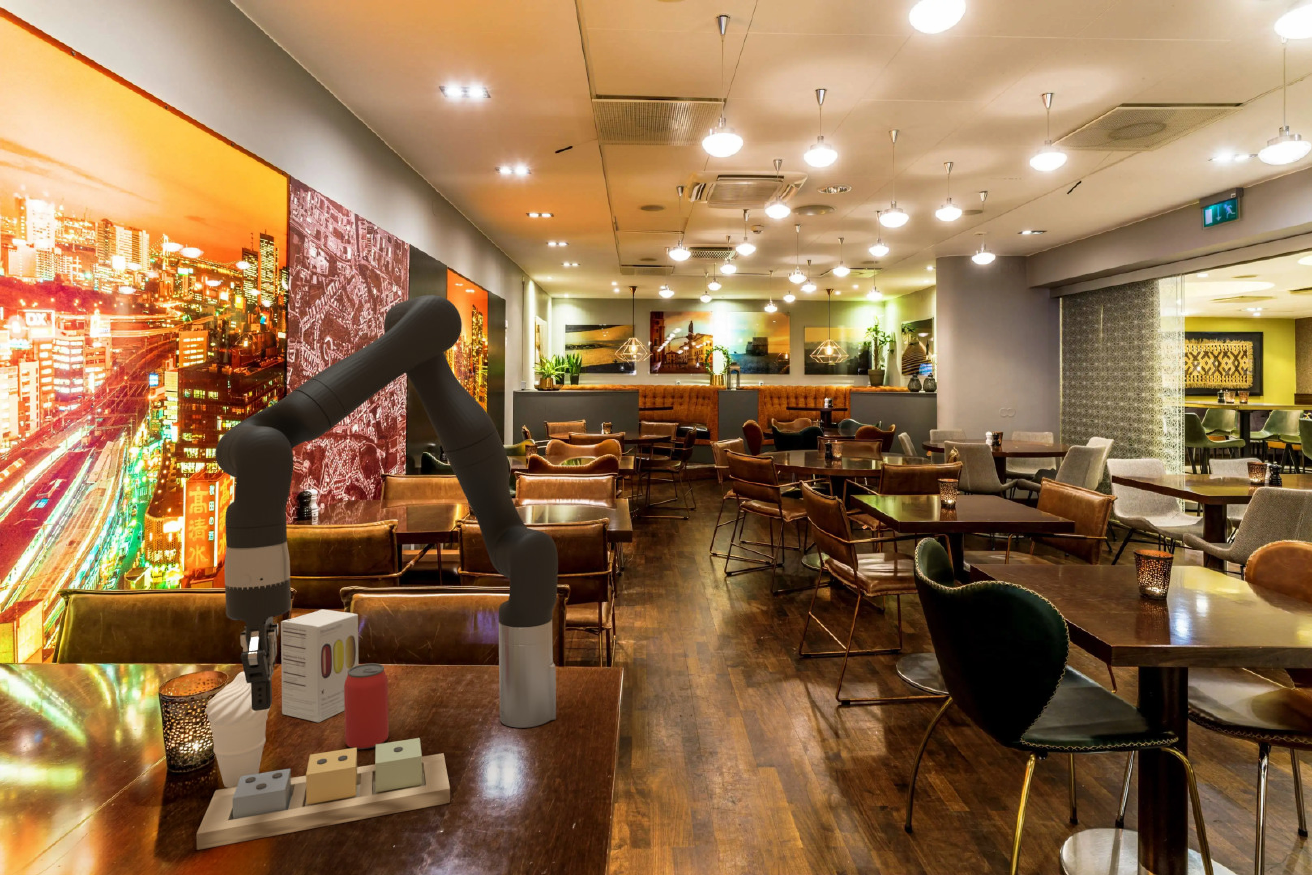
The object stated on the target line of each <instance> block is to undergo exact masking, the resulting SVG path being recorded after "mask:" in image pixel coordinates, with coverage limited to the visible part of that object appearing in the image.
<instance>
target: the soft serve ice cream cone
mask: <svg viewBox="0 0 1312 875" xmlns="http://www.w3.org/2000/svg"><path fill="white" fill-rule="evenodd" d="M271 706H272V705H271ZM271 706H270V708H269V709H266V710H258V711H254V710H252V699H251V683H247V681H246V677H245V673H244V670H243V671H241V672H239V673H238V674H237V675H236V676H235V677H234V679H233V681H232V682H230V683H229V684H227V685H225V686H224V687H223V688H222V689H221V690H220V691H218V692H217V693H216V694H214V697H212V698H210V700H208V702H207V707H206V708H204V709H205V710H204V712H205V714H206V715H207V721H209V722H210V723H209V724H210V727H209V729H210V731H211V732H212V741H213V742H212V743H213V749H212V750H213V751H212V752H213V753H214V754H215V757H216V761H217V764H218V768H219V772H220V776H221V779H222V783H223V785H224V787H225V788H226V789H227V788H233V787H237V785H238V783H239V780H240V778H241V776H246V775H252V774H259V773H260V767H261V761H262V756H263V753H264V752H263V751H264V746H265V744H266V740H267V739H266V730H267V720H268V714H269V711H270V710H271Z"/></svg>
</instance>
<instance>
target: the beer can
mask: <svg viewBox="0 0 1312 875" xmlns="http://www.w3.org/2000/svg"><path fill="white" fill-rule="evenodd" d="M347 673H348V675H347V678H346V680H345V684H344V706H345V710H344V741H345V742H344V743H345V744H346V746H347V747H349V749H350V748H357V750H369V749H372V748H376V744H383V743H386V741H387V740H388V737H389V734H390V732H389V685H388V684H389V682H388V681H389V679H388V674H387V673H386V671H385V666H384V665H383V664H381V663H373V662H372V663H371V662H370V663H362V664H358V665H357V666H354V667H352V668H350V669H349V670H348V672H347Z"/></svg>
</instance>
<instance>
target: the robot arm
mask: <svg viewBox="0 0 1312 875" xmlns="http://www.w3.org/2000/svg"><path fill="white" fill-rule="evenodd" d="M462 324H463V323H462V317H461V314H460V312H459V310H458V309H457V307H456V306H455V305H454V304H453V302H451V301H450V300H448V299H447V298H445V297H443V296H440V295H434V294H426V295H424V294H423V295H420V296H416V297H413V298H409V299H407V300H404V301H401V302H398V303H396V304H394V305H392V306H391V307H390V308H389V309H388V311H387V312H386V315H385V318H384V322H383V330H384V334H382V335H381V336H379V337H378V338H377V339H375V340H373V341H372V342H371V343H369V344H367V345H366V346H364V347H362V348H361V349H359V350H357V351H355V352H353V353H352V354H349V355H348V356H346V357H344V358H342V359H341V360H338V361H337V362H335V363H333V364H331V365H330V366H328V367H326V368H324V369H323V370H321V371H319V372H318V373H317V374H315V375H313V376H312V377H311V378H309V379H307V380H306V381H304V382H303V383H301V385H299V386H298V387H296V388H294V389H293V390H291V392H289V393H288V394H287V395H286V396H285V397H284V398H282V399H280V400H279V401H277V402H275V403H273V404H272V405H270V406H267V407H266V408H264V409H262V410H260V411H258V412H256V413H255V414H253V415H251V416H249V417H247V418H246V419H244V420H242V421H240V422H239V423H237V424H235V425H234V426H233V427H231V428H230V429H229V430H227V431H226V432H225V433H224V434H223V435H222V436H221V438H219V441H218V443H217V445H216V448H215V452H214V453H215V460H216V462H217V465H218V467H219V468H220V469H221V470H222V471H223V472H224V473H225V474H227V475H228V476H231V477H234V478H235V492H234V494H235V495H234V501H232V502H231V503H230V504H228V506H227V508H226V510H225V518H224V520H225V521H224V522H225V525H224V526H225V544H226V545H225V557H224V589H225V590H224V592H225V594H224V595H225V596H224V597H225V614H226V616H227V618H228V619H230V620H233V621H243V622H245V626H244V628H243V631H241V632H240V637H239V640H240V646H241V647H242V648H243V649H242V652H241V654H240V660H241V664H242V668H243V671H244V673H245V677H246V681H247V683H251V699H252V710H254V711H258V710H266V709H269V708H270V709H271V707H270V706H272V702H273V688H272V687H273V685H272V678H273V674H274V673H275V670H274V668H275V665H276V656H277V654H278V652H277V650H278V649H277V642H278V641H277V637H278V635H279V623H274V618H275V617H279V616H282V615H283V614H285V613H287V612H289V611H290V610H291V607H292V596H291V595H292V594H291V591H292V590H291V588H292V587H291V565H290V564H291V562H290V561H291V560H290V559H291V558H290V553H289V549H288V548H289V547H288V533H287V532H288V529H287V528H288V527H287V512H286V510H287V505H288V500H289V497H290V492H291V487H292V486H291V484H292V479H293V474H294V453H293V449H294V448H296V447H297V446H299V445H301V444H303V443H305V442H309V441H314V440H316V439H318V438H319V437H322V436H324V435H325V434H326V433H327V432H329V431H330V430H331V429H333V428H334V427H336V426H337V425H338V424H339V423H340V422H342V421H343V420H344V419H345V418H347V417H348V416H349V415H351V414H352V413H353V412H354V411H355V410H357V409H358V408H359V407H361V406H362V405H364V403H365V402H367V401H369V399H371V398H372V397H374V396H375V395H376V394H377V393H379V392H380V391H381V390H383V389H384V388H386V386H389V384H391V383H392V382H394V381H395V380H397V379H398V378H400V377H401V376H403V375H404V374H405V375H406V376H407V378H408V379H409V381H410V383H411V385H412V386H413V388H414V389H415V392H416V393H417V395H418V397H419V399H420V402H421V404H422V406H423V408H424V410H425V413H426V416H428V419H429V422H430V423H431V426H432V427H433V430H434V432H435V434H436V435H437V438H438V440H439V443H440V446H441V448H442V450H443V453H444V455H445V457H446V459H447V461H448V463H449V466H450V467H451V469H452V472H453V473H454V476H455V477H456V479H457V481H458V484H459V485H460V487H461V488H460V489H461V490H462V492H463V494H464V497H465V498H466V500H467V502H468V504H469V505H470V508H471V510H472V512H473V515H474V516H475V519H476V521H477V524H478V527H479V529H480V533H481V536H482V539H483V542H484V545H485V548H486V551H487V555H488V557H489V559H490V562H491V564H492V566H493V568H494V569H495V570H496V571H497V572H498V573H499V574H500V575H501V576H503V577H504V578H507V579H509V595H508V596H509V597H508V600H506V601H504V602H502V603H501V604H500V605H499V606H498V656H499V657H498V668H499V669H498V673H499V674H498V675H499V682H498V684H499V688H498V689H499V690H498V691H499V707H498V708H499V721H500V722H501V723H502V725H505V726H507V727H511V728H517V729H519V728H520V729H522V728H525V729H526V728H532V727H538V726H541V725H544V724H546V723H548V722H550V721H554V720H555V721H556V720H557V688H556V687H557V684H556V682H557V678H556V676H557V675H556V673H557V671H556V664H555V663H554V660H553V658H554V656H553V654H554V653H553V610H554V608H555V606H556V602H557V596H558V577H559V576H558V575H559V573H558V572H559V557H558V556H559V555H558V549H557V545H556V543H555V541H554V539H553V538H552V537H551V536H550V535H549V534H547V533H546V532H543V531H542V530H541V531H540V530H537V529H532V528H528V527H527V525H525V522H524V521H523V519H522V517H521V516H520V514H519V511H518V509H517V508H516V506H515V503H514V501H513V499H512V495H511V491H510V471H509V470H510V468H509V458H508V455H507V452H506V448H505V446H504V443H503V441H502V439H501V436H500V434H499V432H498V429H497V428H496V425H495V423H494V422H493V419H492V417H491V416H490V414H489V413H488V412H487V411H486V410H485V408H484V407H483V406H482V405H481V404H480V403H479V402H478V401H477V399H475V397H473V395H472V394H471V393H470V392H468V391H467V389H466V388H465V387H464V385H462V384H461V383H460V381H459V380H458V379H457V376H456V375H455V374H454V372H453V370H452V368H451V366H450V364H449V361H448V360H447V357H446V354H445V352H447V351H448V350H450V349H451V348H452V347H454V346H455V344H456V343H457V342H458V340H459V339H460V336H461V333H462V326H463V325H462Z"/></svg>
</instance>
